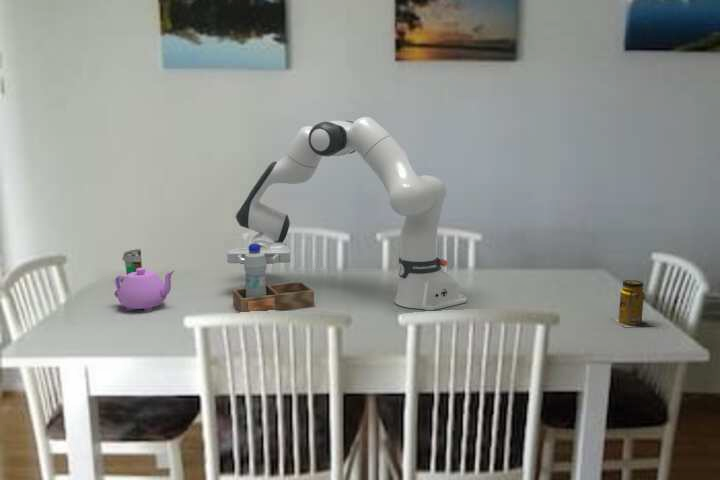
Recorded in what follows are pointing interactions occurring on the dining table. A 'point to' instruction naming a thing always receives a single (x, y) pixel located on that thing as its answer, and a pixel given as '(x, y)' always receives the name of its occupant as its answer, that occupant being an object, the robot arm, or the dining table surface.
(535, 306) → the dining table surface
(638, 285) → the condiment
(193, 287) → the dining table surface
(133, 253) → the food container
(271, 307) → the crate
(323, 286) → the dining table surface
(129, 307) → the teapot
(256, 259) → the bottle
